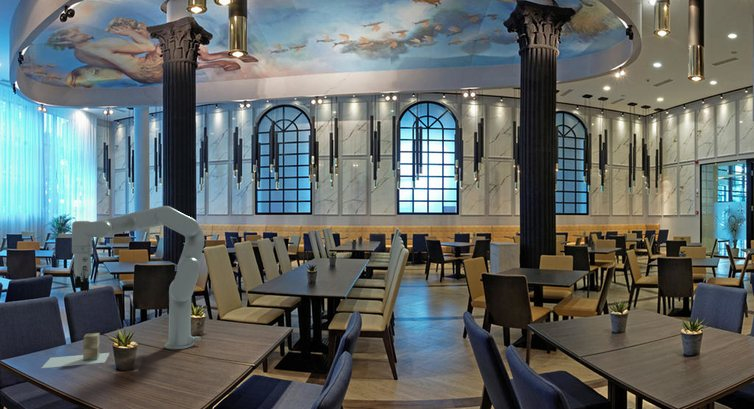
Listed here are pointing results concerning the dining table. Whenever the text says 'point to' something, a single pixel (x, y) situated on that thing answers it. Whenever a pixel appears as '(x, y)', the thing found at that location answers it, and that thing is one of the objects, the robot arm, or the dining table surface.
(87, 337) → the oak block
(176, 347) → the robot arm
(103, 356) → the grey mat
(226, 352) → the dining table surface
